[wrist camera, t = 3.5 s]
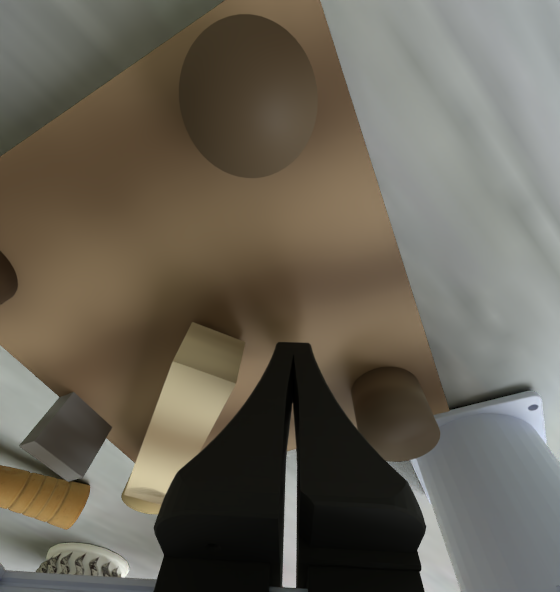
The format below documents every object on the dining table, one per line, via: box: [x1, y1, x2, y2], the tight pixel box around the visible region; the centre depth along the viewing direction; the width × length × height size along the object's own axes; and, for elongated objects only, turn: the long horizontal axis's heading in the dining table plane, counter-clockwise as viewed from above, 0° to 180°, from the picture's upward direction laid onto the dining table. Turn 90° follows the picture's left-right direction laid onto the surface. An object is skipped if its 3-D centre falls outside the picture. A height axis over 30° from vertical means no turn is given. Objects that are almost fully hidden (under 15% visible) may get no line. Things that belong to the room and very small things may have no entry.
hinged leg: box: [121, 322, 245, 514], centre depth 15 cm, size 11×3×2 cm, turn 156°
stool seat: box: [0, 0, 450, 482], centre depth 14 cm, size 18×18×5 cm
